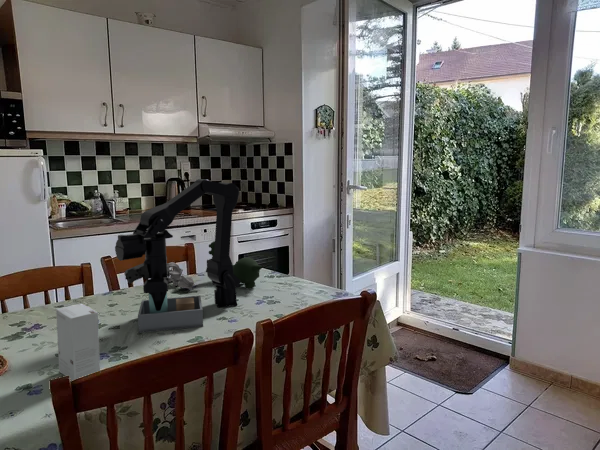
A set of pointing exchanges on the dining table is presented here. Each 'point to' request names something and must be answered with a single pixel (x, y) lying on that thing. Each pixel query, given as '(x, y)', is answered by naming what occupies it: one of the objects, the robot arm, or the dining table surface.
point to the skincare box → (78, 340)
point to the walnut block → (184, 304)
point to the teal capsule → (152, 306)
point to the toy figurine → (243, 269)
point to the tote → (170, 316)
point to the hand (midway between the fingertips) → (158, 307)
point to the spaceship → (179, 277)
